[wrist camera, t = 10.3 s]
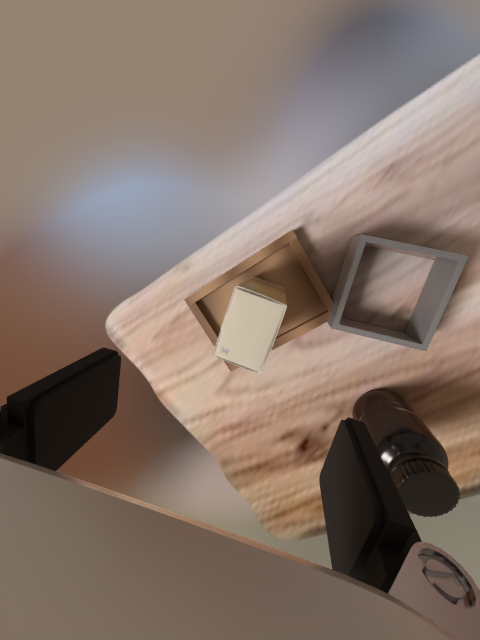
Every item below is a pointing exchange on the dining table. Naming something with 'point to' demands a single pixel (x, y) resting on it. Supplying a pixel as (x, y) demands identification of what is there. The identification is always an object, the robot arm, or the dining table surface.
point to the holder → (428, 303)
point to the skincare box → (251, 324)
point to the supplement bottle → (408, 453)
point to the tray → (275, 267)
